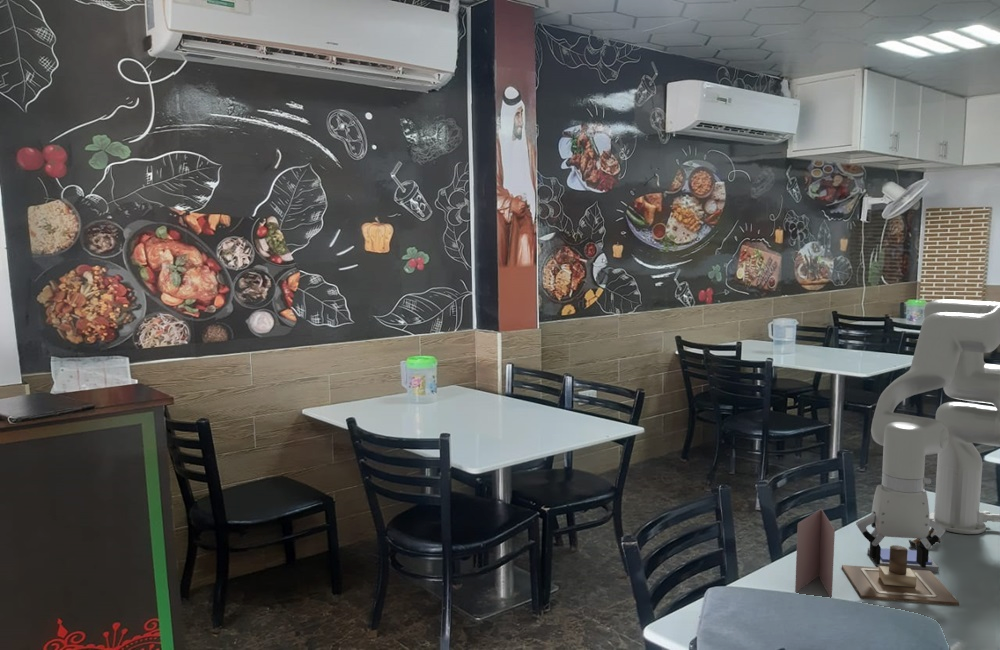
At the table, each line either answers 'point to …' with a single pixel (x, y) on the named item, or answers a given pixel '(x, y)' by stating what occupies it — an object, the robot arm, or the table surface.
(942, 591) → the marked board
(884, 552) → the ink pad
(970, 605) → the table surface
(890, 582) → the stamp
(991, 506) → the table surface
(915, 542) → the wooden post with brackets
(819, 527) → the greeting card
